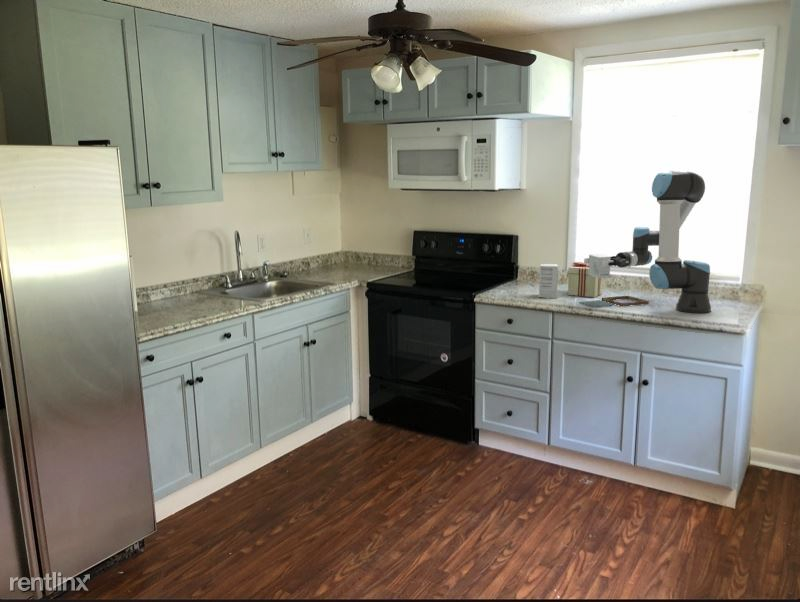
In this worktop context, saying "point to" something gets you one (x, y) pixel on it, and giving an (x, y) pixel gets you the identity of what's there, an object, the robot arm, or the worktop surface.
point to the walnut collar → (610, 299)
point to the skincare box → (598, 266)
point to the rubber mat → (596, 303)
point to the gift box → (583, 281)
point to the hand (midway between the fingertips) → (593, 262)
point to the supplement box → (548, 280)
